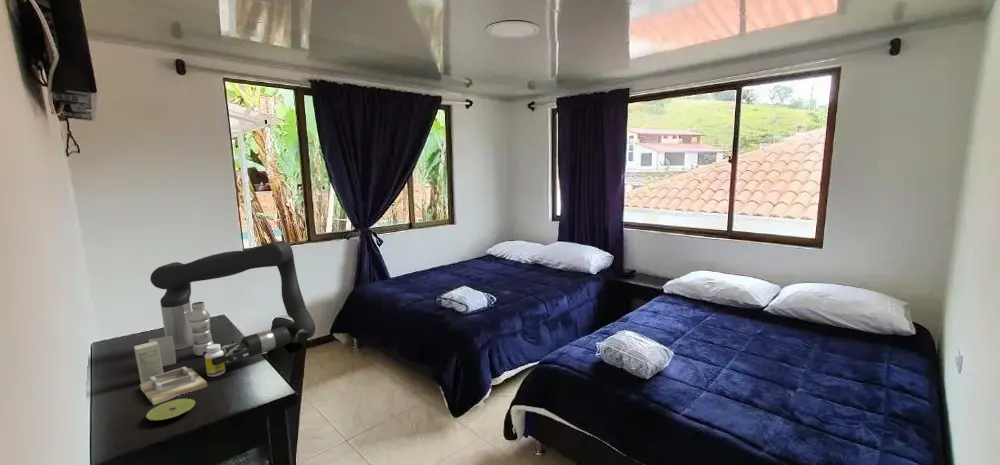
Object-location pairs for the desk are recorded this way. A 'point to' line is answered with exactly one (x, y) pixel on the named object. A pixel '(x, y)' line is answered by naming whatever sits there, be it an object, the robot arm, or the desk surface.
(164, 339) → the tea bag
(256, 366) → the desk surface
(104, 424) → the desk surface
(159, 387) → the socket board
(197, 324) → the plastic bottle
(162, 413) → the green disc with hole
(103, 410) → the desk surface
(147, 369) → the skincare box
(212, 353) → the supplement bottle
